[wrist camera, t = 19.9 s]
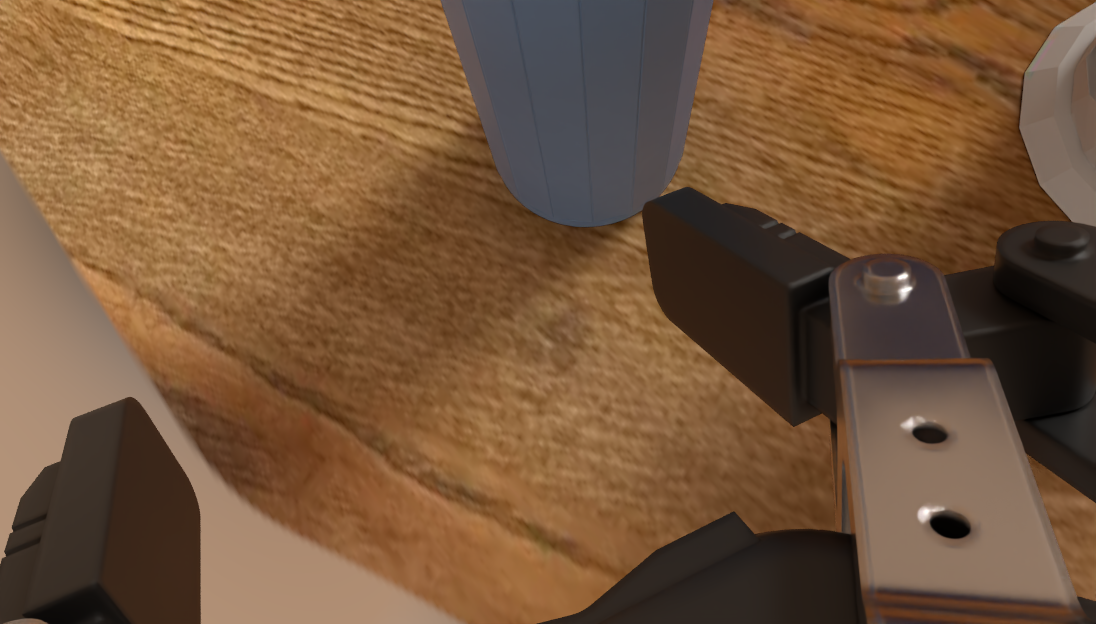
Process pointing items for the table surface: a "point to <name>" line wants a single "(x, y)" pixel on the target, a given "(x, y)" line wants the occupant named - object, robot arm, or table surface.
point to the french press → (1064, 116)
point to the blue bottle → (582, 97)
